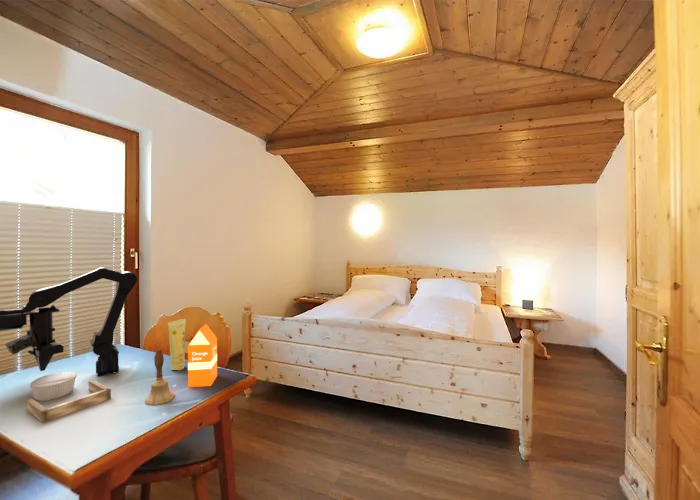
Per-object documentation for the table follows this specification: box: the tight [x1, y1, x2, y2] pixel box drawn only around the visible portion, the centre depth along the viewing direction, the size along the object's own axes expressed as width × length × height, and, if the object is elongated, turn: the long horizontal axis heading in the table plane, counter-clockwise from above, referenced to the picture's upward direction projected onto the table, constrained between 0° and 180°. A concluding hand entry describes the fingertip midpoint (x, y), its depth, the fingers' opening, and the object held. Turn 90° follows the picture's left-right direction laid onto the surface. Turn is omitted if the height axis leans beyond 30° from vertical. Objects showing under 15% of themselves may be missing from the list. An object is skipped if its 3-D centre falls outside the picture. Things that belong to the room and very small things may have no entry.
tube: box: [167, 318, 187, 371], centre depth 126 cm, size 6×5×20 cm
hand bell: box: [144, 348, 176, 406], centre depth 102 cm, size 8×8×16 cm
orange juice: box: [187, 323, 218, 388], centre depth 115 cm, size 8×9×20 cm
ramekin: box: [29, 371, 77, 401], centre depth 105 cm, size 11×11×5 cm
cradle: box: [26, 379, 112, 423], centre depth 99 cm, size 16×13×3 cm
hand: (42, 370), depth 110 cm, fingers closed
